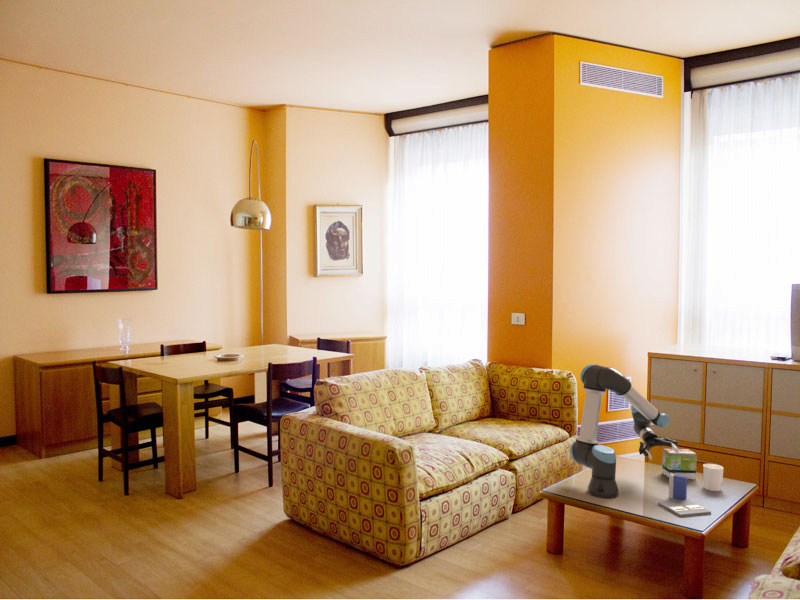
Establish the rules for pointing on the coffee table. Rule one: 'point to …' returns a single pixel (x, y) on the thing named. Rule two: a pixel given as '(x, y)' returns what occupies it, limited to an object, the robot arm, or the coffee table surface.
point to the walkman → (677, 487)
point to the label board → (684, 508)
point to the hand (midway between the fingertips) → (664, 454)
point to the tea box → (679, 463)
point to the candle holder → (712, 477)
